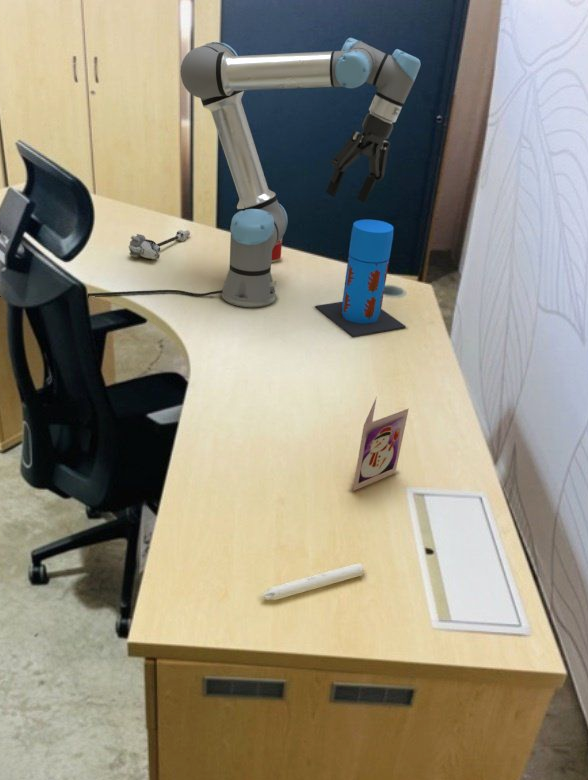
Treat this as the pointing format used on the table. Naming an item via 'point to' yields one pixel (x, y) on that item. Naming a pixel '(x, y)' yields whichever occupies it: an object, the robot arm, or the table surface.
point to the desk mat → (357, 329)
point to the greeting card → (379, 447)
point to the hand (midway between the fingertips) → (345, 198)
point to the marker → (313, 582)
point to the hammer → (151, 245)
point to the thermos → (366, 270)
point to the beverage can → (276, 251)
